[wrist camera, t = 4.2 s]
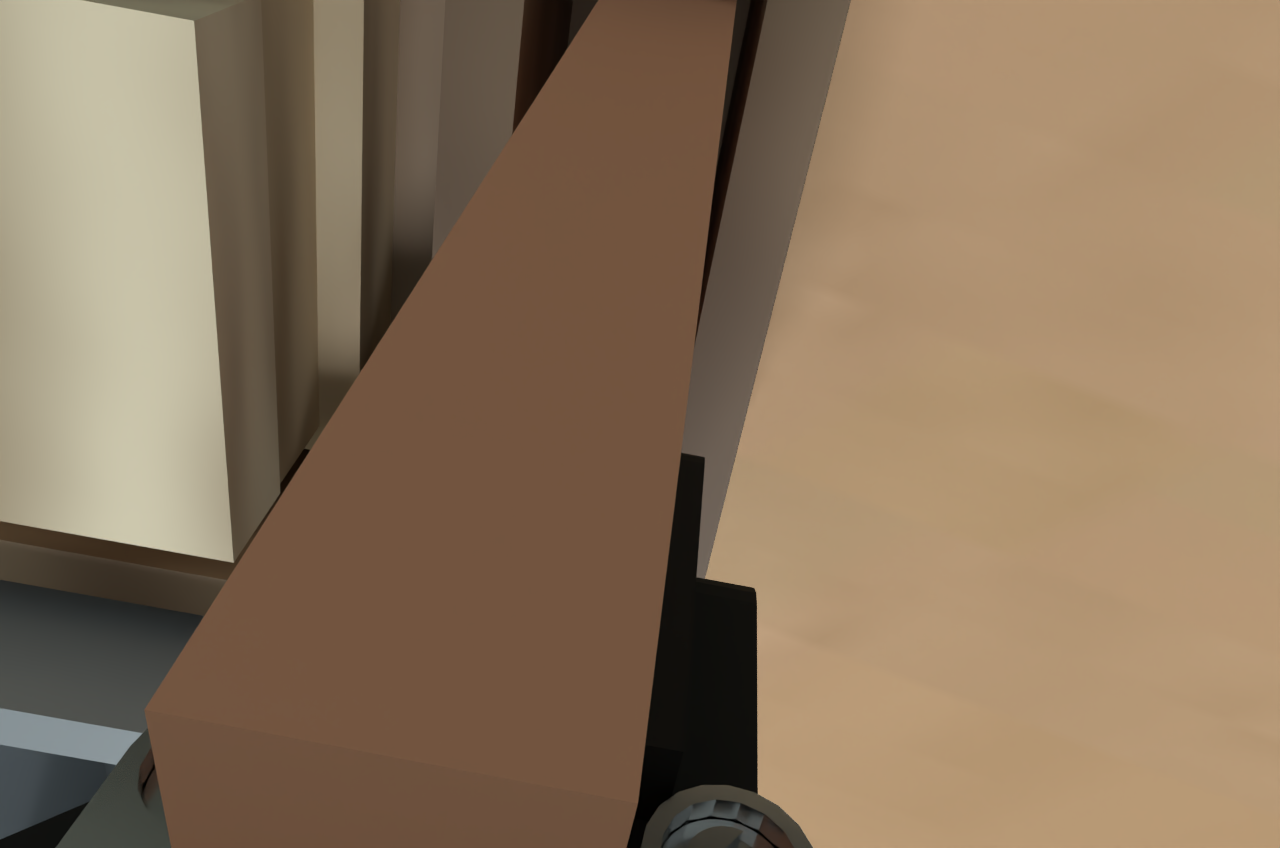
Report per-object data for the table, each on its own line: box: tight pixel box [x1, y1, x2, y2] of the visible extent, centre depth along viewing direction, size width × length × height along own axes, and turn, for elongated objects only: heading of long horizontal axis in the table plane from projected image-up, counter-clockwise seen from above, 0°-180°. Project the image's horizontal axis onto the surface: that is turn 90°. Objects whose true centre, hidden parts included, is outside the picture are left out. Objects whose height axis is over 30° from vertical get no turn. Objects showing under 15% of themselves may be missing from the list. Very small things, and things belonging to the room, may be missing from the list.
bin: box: [0, 580, 204, 839], centre depth 25 cm, size 14×14×8 cm
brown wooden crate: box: [0, 0, 851, 616], centre depth 18 cm, size 20×14×6 cm
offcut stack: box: [0, 0, 400, 563], centre depth 17 cm, size 10×10×6 cm
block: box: [144, 0, 737, 848], centre depth 12 cm, size 2×10×15 cm, turn 171°
